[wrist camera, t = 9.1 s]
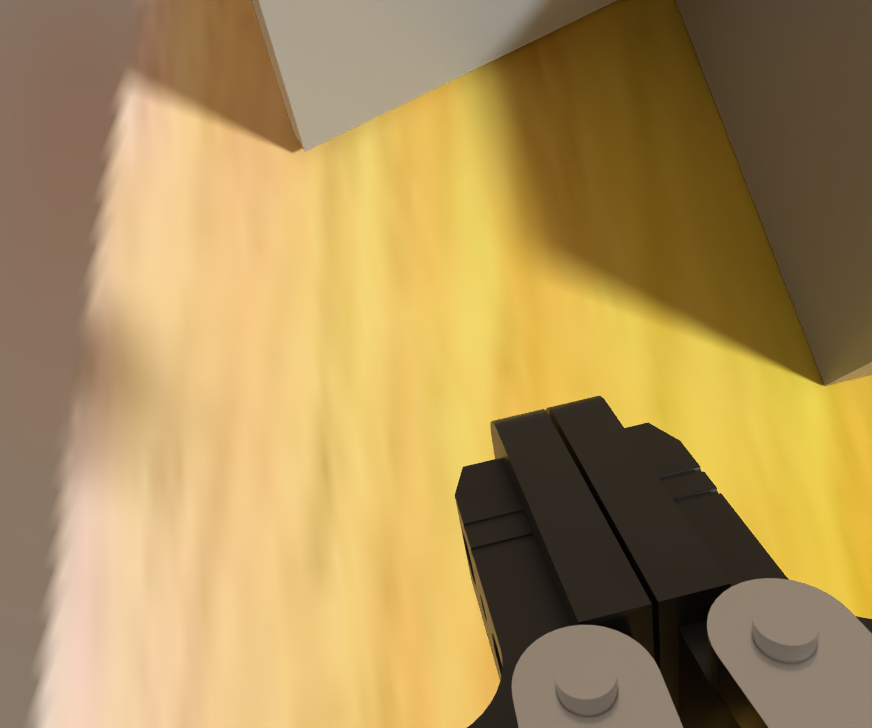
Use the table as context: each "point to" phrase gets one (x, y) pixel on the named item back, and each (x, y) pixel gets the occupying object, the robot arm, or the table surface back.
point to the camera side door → (390, 51)
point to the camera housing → (803, 152)
